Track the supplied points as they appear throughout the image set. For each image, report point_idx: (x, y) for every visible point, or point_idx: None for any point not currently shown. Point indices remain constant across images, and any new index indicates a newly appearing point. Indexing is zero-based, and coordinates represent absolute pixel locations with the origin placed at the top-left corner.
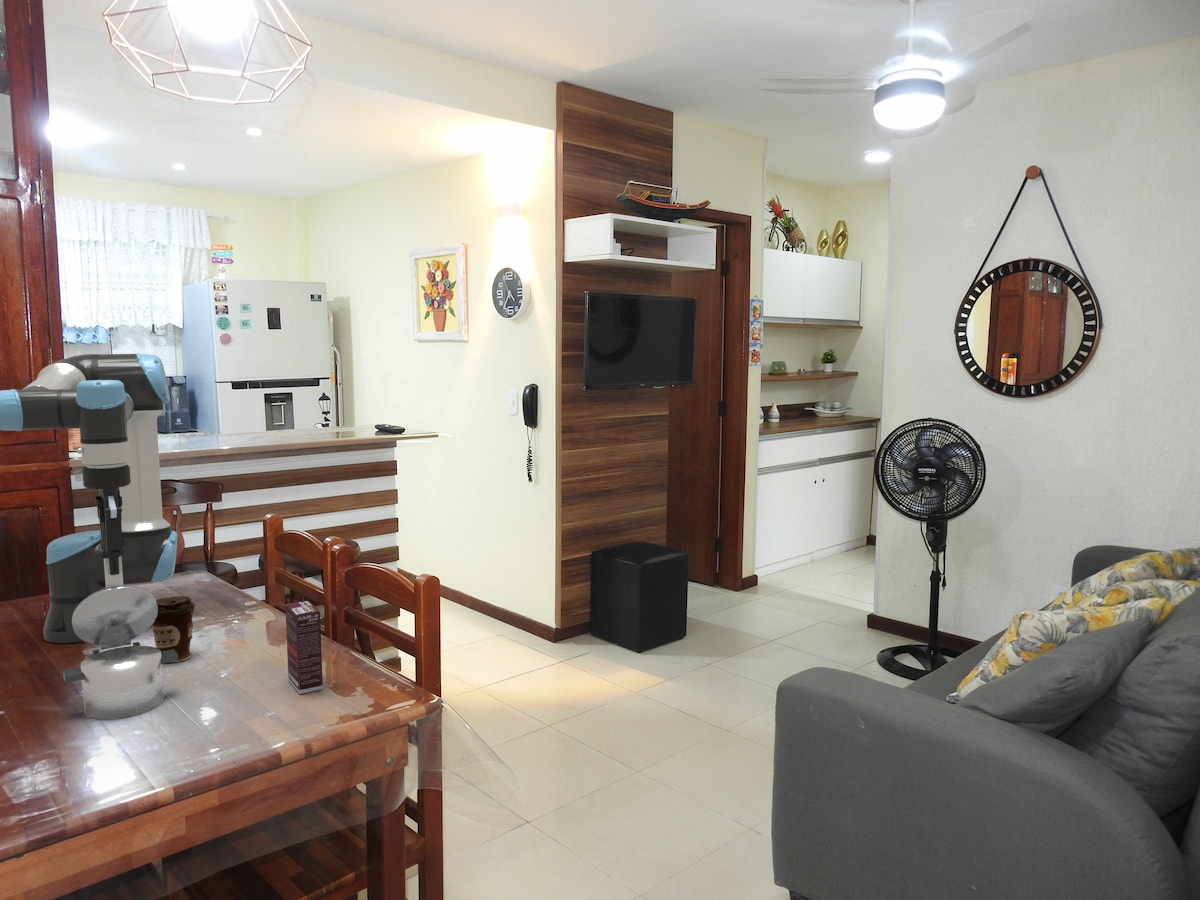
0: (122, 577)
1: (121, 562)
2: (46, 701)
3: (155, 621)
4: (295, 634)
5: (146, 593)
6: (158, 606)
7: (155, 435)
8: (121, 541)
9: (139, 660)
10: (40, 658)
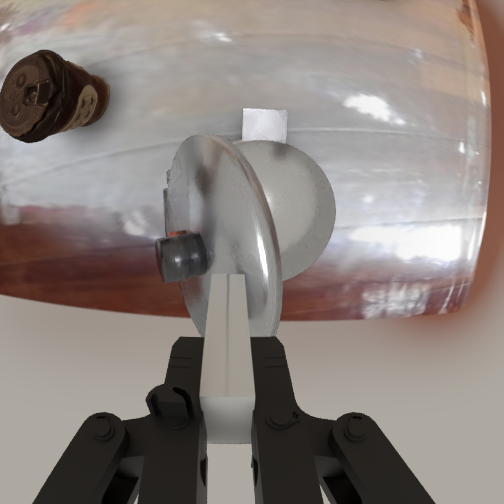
0: (245, 307)
1: (251, 364)
2: (170, 282)
3: (55, 129)
4: None
5: (261, 185)
6: (35, 123)
7: None
8: (422, 488)
9: (302, 190)
10: (17, 270)
